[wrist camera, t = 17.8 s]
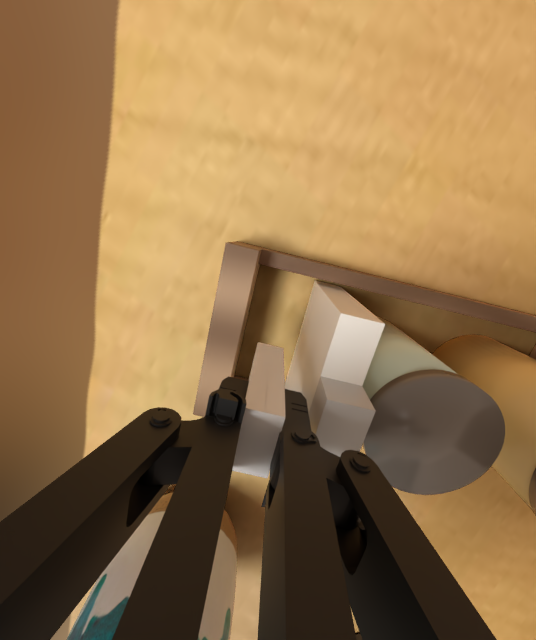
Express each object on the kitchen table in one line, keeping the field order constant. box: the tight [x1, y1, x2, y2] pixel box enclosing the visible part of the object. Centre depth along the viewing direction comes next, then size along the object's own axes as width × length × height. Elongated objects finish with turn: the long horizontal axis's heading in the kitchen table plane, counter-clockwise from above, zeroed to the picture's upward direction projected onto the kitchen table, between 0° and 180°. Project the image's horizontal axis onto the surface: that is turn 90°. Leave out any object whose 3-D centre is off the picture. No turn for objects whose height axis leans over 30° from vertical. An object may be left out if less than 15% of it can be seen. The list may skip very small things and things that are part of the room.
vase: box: [67, 492, 237, 640], centre depth 20 cm, size 11×11×19 cm
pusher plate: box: [285, 280, 385, 457], centre depth 18 cm, size 9×2×12 cm, turn 167°
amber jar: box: [432, 335, 536, 516], centre depth 18 cm, size 7×7×12 cm
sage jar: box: [362, 317, 505, 495], centre depth 19 cm, size 6×6×11 cm
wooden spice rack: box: [193, 241, 536, 417], centre depth 21 cm, size 12×26×6 cm, turn 76°
